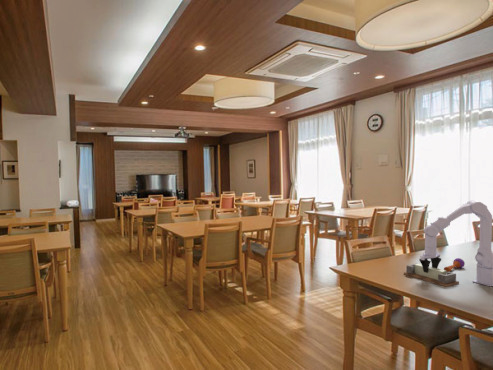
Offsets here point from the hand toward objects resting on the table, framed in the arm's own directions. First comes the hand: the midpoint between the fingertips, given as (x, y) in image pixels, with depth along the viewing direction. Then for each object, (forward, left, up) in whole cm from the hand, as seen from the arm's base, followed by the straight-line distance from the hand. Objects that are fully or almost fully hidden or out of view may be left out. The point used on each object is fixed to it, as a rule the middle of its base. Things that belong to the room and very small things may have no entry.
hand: (430, 271), depth 186 cm
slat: (0, 0, -3) cm, 3 cm away
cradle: (0, 0, -4) cm, 4 cm away
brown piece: (+5, -31, -5) cm, 31 cm away
